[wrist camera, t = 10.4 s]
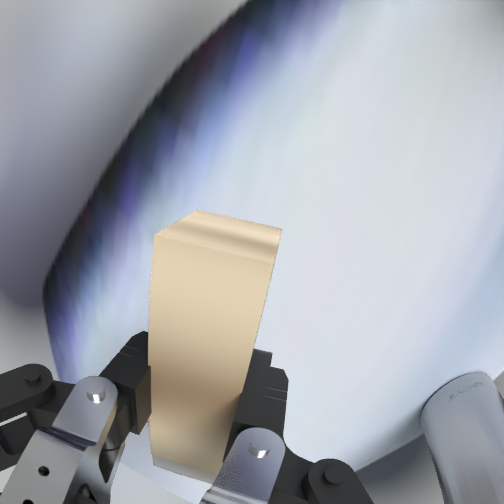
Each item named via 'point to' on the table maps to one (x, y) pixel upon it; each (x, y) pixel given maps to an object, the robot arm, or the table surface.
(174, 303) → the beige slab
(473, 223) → the table surface
